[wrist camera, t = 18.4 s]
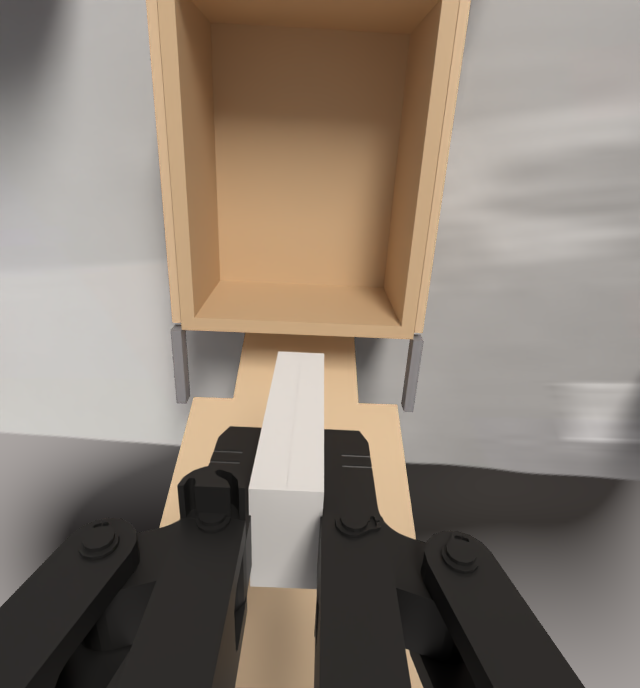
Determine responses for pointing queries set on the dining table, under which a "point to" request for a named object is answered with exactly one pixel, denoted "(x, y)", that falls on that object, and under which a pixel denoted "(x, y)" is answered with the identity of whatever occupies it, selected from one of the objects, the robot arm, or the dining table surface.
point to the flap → (339, 414)
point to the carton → (303, 164)
